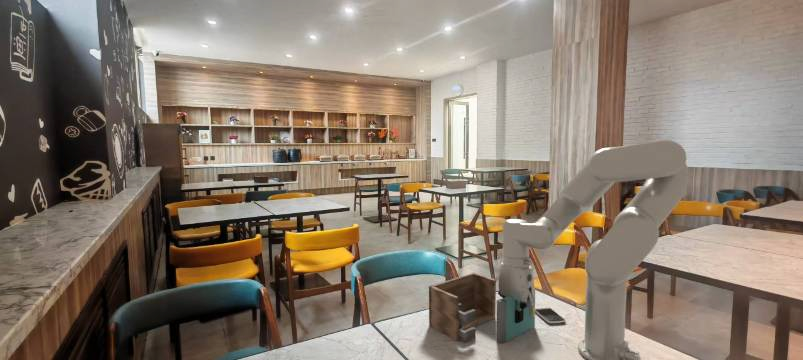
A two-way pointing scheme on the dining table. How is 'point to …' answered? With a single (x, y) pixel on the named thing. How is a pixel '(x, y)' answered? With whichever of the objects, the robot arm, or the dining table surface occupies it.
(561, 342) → the dining table surface
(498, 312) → the door
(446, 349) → the dining table surface
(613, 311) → the robot arm
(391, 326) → the dining table surface
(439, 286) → the cabinet
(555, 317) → the cell phone
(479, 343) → the dining table surface
